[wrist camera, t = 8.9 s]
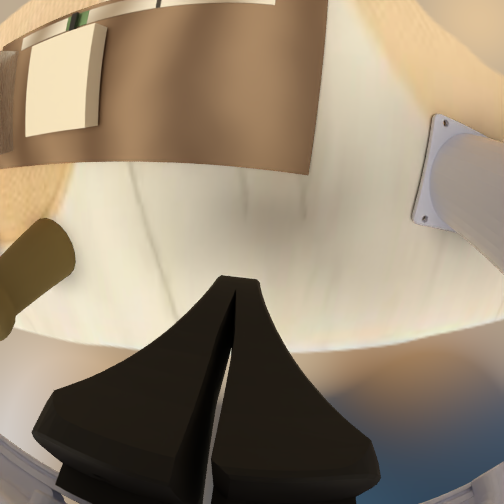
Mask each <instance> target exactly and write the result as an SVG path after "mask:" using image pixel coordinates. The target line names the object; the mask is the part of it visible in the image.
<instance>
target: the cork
mask: <svg viewBox="0 0 504 504" xmlns="http://www.w3.org/2000/svg"><path fill="white" fill-rule="evenodd" d="M74 266H75V252H74V249H73V246H72V243H71V241H70V239H69V237H68V235H67V234H66V232H65V231H64V230H63V229H62V228H61V226H60V225H58V224H57V223H56V222H54V221H53V220H50V219H47V218H43V219H39V220H38V221H36V222H35V223H34V224H33V225H32V226H31V227H30V228H29V229H27V230H26V231H25V232H24V233H23V234H22V235H21V236H20V237H19V238H18V239H17V240H16V241H15V242H14V243H13V244H12V245H11V246H10V247H9V248H8V249H7V250H6V251H5V252H4V254H3V255H2V256H1V257H0V341H2V340H4V339H5V338H6V337H7V336H8V335H9V334H10V333H11V331H12V328H13V326H14V324H15V317H16V315H17V314H18V313H20V312H21V311H22V310H23V309H25V308H26V307H27V306H28V305H30V304H31V303H32V302H34V301H35V300H36V299H37V298H39V297H40V296H41V295H43V294H44V293H45V292H47V291H48V290H49V289H51V288H52V287H53V286H55V285H56V284H57V283H59V282H60V281H62V280H63V279H64V278H66V277H67V276H69V275H70V274H71V272H72V271H73V270H74Z"/></svg>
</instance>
